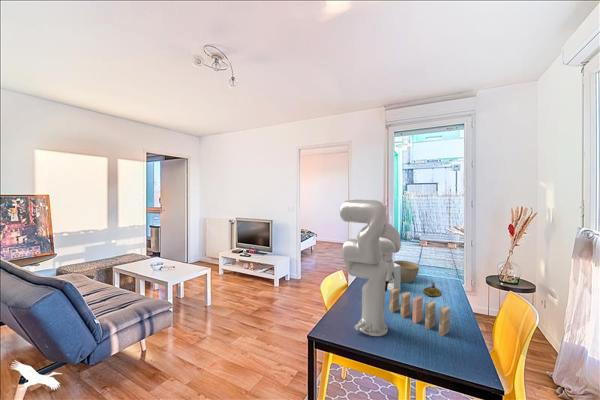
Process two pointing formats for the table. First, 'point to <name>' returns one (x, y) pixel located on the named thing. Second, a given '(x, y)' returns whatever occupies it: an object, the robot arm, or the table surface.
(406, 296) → the tile
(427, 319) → the tile
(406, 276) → the planter bowl
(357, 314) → the table surface
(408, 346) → the table surface
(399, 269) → the skincare box
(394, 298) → the head tile
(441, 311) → the tile
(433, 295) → the seal
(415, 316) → the tile
